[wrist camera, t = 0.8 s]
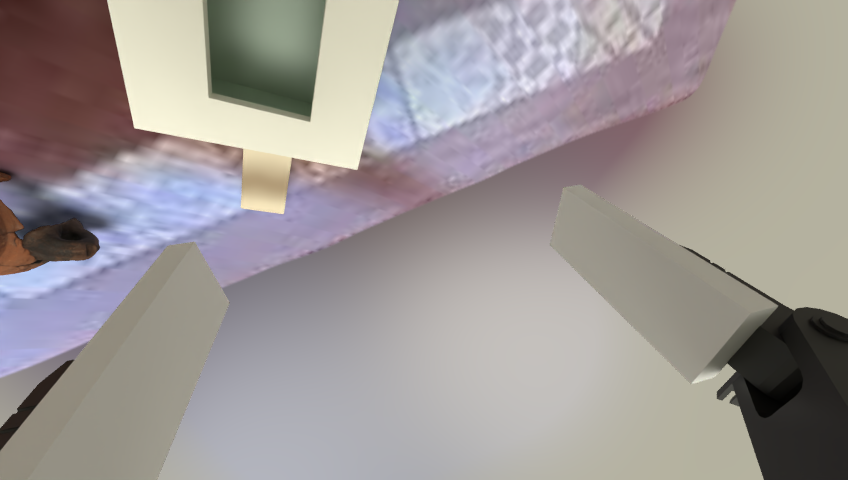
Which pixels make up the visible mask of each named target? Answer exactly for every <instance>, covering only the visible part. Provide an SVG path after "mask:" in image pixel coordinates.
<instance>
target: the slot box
mask: <svg viewBox="0 0 848 480" xmlns="http://www.w3.org/2000/svg"><path fill="white" fill-rule="evenodd" d="M107 2H108V7H109V11H110V16H111V21H112V25H113V30H114V35H115V39H116V44H117V49H118V53H119V58H120V63H121V67H122V72H123V77H124V81H125V86H126V91H127V95H128V100H129V105H130V109H131V114H132V119H133V123H134V128H137V129H142V130H148V131H153V132H158V133H164V134H169V135H174V136H179V137H185V138H190V139H195V140H201V141H206V142H211V143H217V144H222V145H227V146H233V147H238V148H243V149H249V150H254V151H259V152H265V153H270V154H275V155H281V156H286V157H291V158H297V159H302V160H307V161H313V162H318V163H323V164H329V165H334V166H339V167H345V168H350V169H355V170H357V169H358V165H359V160H360V156H361V152H362V148H363V144H364V140H365V136H366V132H367V128H368V124H369V120H370V116H371V112H372V108H373V104H374V100H375V96H376V92H377V88H378V84H379V80H380V76H381V72H382V67H383V63H384V59H385V55H386V51H387V47H388V43H389V39H390V35H391V31H392V27H393V23H394V19H395V15H396V11H397V7H398V3H399V0H107Z"/></svg>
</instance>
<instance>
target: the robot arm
mask: <svg viewBox="0 0 848 480" xmlns="http://www.w3.org/2000/svg"><path fill="white" fill-rule="evenodd" d="M550 246H551V247H552V248H553V249H554V250H555V251H556V252H558V253H559V254H560V255H561V256H562V257H563V258H564V259H565V260H566V261H567V262H568V263H569V264H570V265H571V266H572V267H573V268H574V269H575V270H576V271H577V272H578V273H579V274H580V275H581V276H582V277H583V278H584V279H585V280H586V281H587V282H588V283H589V284H590V285H591V286H592V287H593V288H594V289H595V290H596V291H597V292H598V293H599V294H600V295H601V296H602V297H603V298H604V299H605V300H606V301H607V302H608V303H609V304H610V305H611V306H612V307H613V308H614V309H615V310H616V311H617V312H618V313H619V314H620V315H621V316H622V317H623V318H624V319H626V320H627V322H629V324H630V325H631V326H633V327H634V328H635V329H636V330H637V331H638V332H639V333H640V334H641V335H642V336H643V337H644V338H645V339H646V340H647V341H648V342H649V343H650V344H651V345H652V346H653V347H654V348H655V349H656V350H657V351H658V352H659V353H660V354H661V355H662V356H663V357H664V358H665V359H666V360H667V361H668V362H669V363H670V364H671V365H672V366H673V367H674V368H675V369H676V370H677V371H678V372H679V373H680V374H681V375H682V376H683V377H684V378H685V379H686V380H687V381H688V382H689V383H690V384H693V383H697V382H700V381H704V380H707V379H710V378H714V377H715V376H716V375H717V374H718V373H719V372H720V371H721V370H722V368H723V367H724V366H725V365H726V364H727V363H728V364H729V365H730V366H731V367H732V368H733V369H735V370H736V372H735V374H734V375H733V376H732V377H731V378H730V379H729V380H728V381H727V382H726V383H725V384H724V385H723V386H722V387H721V388H720V389H719V390H718V391H717V399H719V400H723V399H724V398H725V397H726V396H727V395H728V394H729V393H730V392H731V391H735V394H736V395H735V396H734V397H733V398H732V399H731V400H730V403H731V404H734V405H737V406H740V409H741V412H742V415H743V418H744V421H745V424H746V427H747V430H748V433H749V436H750V439H751V442H752V445H753V448H754V451H755V454H756V457H757V460H758V463H759V466H760V469H761V472H762V475H763V478H764V480H848V319H846V318H844V317H842V316H840V315H837V314H835V313H831V312H828V311H824V310H821V309H816V308H808V307H804V308H797V309H796V310H795V311H794V310H792V309H790V308H788V307H786V306H784V305H783V304H781V303H779V302H778V301H776V300H775V299H773V298H771V297H769V296H768V295H766V294H765V293H763V292H761V291H760V290H758V289H756V288H755V287H753V286H751V285H750V284H748V283H746V282H744V281H743V280H741V279H740V278H738V277H736V276H735V275H733V274H731V273H730V272H725V270H724V269H723V268H722V267H720V266H718V265H717V264H714V263H710V260H708V259H707V258H705V257H703V256H701V255H700V254H698V253H696V252H695V251H693V250H691V249H689V248H686V247H683V246H681V245H678V244H677V243H675V242H673V241H672V240H670V239H669V238H667V237H665V236H664V235H662V234H660V233H659V232H657V231H655V230H654V229H652V228H650V227H649V226H647V225H646V224H644V223H642V222H641V221H639V220H637V219H636V218H634V217H633V216H631V215H629V214H628V213H626V212H624V211H623V210H621V209H619V208H618V207H616V206H615V205H613V204H611V203H609V202H608V201H606V200H605V199H603V198H601V197H600V196H598V195H596V194H595V193H593V192H592V191H590V190H588V189H587V188H585V187H583V186H582V185H577V186H570V187H564V188H563V192H562V196H561V200H560V204H559V208H558V212H557V217H556V221H555V225H554V229H553V233H552V238H551V241H550ZM229 303H230V302H229V301H228V299H227V297H226V296H225V294H224V292H223V290H222V289H221V287H220V285H219V283H218V282H217V280H216V278H215V276H214V275H213V273H212V271H211V269H210V268H209V266H208V264H207V262H206V261H205V259H204V257H203V255H202V254H201V252H200V250H199V248H198V247H197V245H196V243H195V242H190V243H183V244H176V245H169V246H167V247H166V249H165V250H164V251H163V252H162V253H161V255H160V256H159V257H158V258H157V260H156V261H155V262H154V263H153V264H152V266H151V267H150V268H149V269H148V271H147V272H146V273H145V274H144V276H143V277H142V278H141V279H140V280H139V282H138V283H137V284H136V285H135V287H134V288H133V289H132V290H131V291H130V293H129V294H128V295H127V296H126V298H125V299H124V300H123V301H122V302H121V304H120V305H119V306H118V307H117V309H116V310H115V311H114V312H113V313H112V315H111V316H110V317H109V318H108V320H107V321H106V322H105V323H104V324H103V326H102V327H101V328H100V329H99V331H98V332H97V333H96V334H95V335H94V337H93V338H92V339H91V340H90V342H89V343H88V344H87V345H86V346H85V348H84V349H83V350H82V352H81V353H80V354H79V355H78V356H77V358H76V359H75V360H70V361H67V362H65V363H64V364H63V365H62V366H60V367H59V368H58V369H57V370H55V371H54V372H53V373H52V374H50V375H49V376H48V377H47V378H45V379H44V380H43V381H42V382H40V383H39V384H38V385H37V387H36V388H35V389H34V390H33V391H32V392H31V393H30V395H29V396H28V397H27V398H26V399H25V400H24V402H23V403H22V404H21V405H20V406H19V407H18V408H17V410H18V412H17V413H16V414H13V415H12V416H11V417H10V418H9V419H8V420H7V421H6V422H5V424H4V425H3V426H2V427H1V428H0V480H157V479H158V477H159V474H160V471H161V469H162V467H163V464H164V462H165V460H166V457H167V455H168V452H169V450H170V447H171V445H172V442H173V440H174V437H175V435H176V433H177V430H178V428H179V425H180V423H181V420H182V418H183V416H184V413H185V410H186V408H187V406H188V403H189V401H190V398H191V396H192V393H193V391H194V389H195V386H196V384H197V381H198V379H199V376H200V374H201V371H202V369H203V367H204V364H205V362H206V359H207V357H208V354H209V352H210V350H211V347H212V345H213V342H214V340H215V337H216V335H217V332H218V330H219V327H220V325H221V323H222V320H223V318H224V315H225V313H226V310H227V308H228V306H229Z"/></svg>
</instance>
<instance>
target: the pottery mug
mask: <svg viewBox="0 0 848 480" xmlns="http://www.w3.org/2000/svg"><path fill="white" fill-rule="evenodd" d="M10 180H11V176H10V175H7V174H4V173H0V182H3V181H10ZM21 229H24V226H23V225H22V223H20V221H19V220H18V219H17V217H16V216H15V215H14V213H13V212H12V210H11V209H9V208H8V207H7V206H6V205H5V204H4V203H3V202H2V200H0V275H8V274H15V273H19V272H25V271H29V270H31V269H34V268H36V267H38V266H41V265H43V264H45V263H47V262H49V261H70V260H75V261H79V260H86V259H89V258H91V257H92V256H93V255H94V254H95V253H96V252H97V251H98V250H99V249H100V246H99V240H98V238H97V237H96V236H95V235H94V234H92V233H91V232H89V231H87V230H85V229H84V228H83V226H82V224H81V223H80V221H79V220H77V219H76V218H73V219H70V220H68V221H66V222H63V223H61V224H55V225H52V226H50V225H47V226H42V227H39V228H37V229H34V230H32V231H30V232H28V233H27V234H26V235H25V236H24V238H23V240H22V239H20V238H19V237H18V236H17V235H16V233H15V232H16V231H18V230H21Z"/></svg>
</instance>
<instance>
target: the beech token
mask: <svg viewBox="0 0 848 480" xmlns="http://www.w3.org/2000/svg"><path fill="white" fill-rule="evenodd" d="M291 159H292V158H291V157H286V156H281V155H275V154H270V153H265V152H259V151H254V150H249V149H244V150H243V173H242V196H241V208H243V209H251V210H258V211H265V212H272V213H280V214H284V208H285V201H286V194H287V187H288V180H289V173H290V166H291Z"/></svg>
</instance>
